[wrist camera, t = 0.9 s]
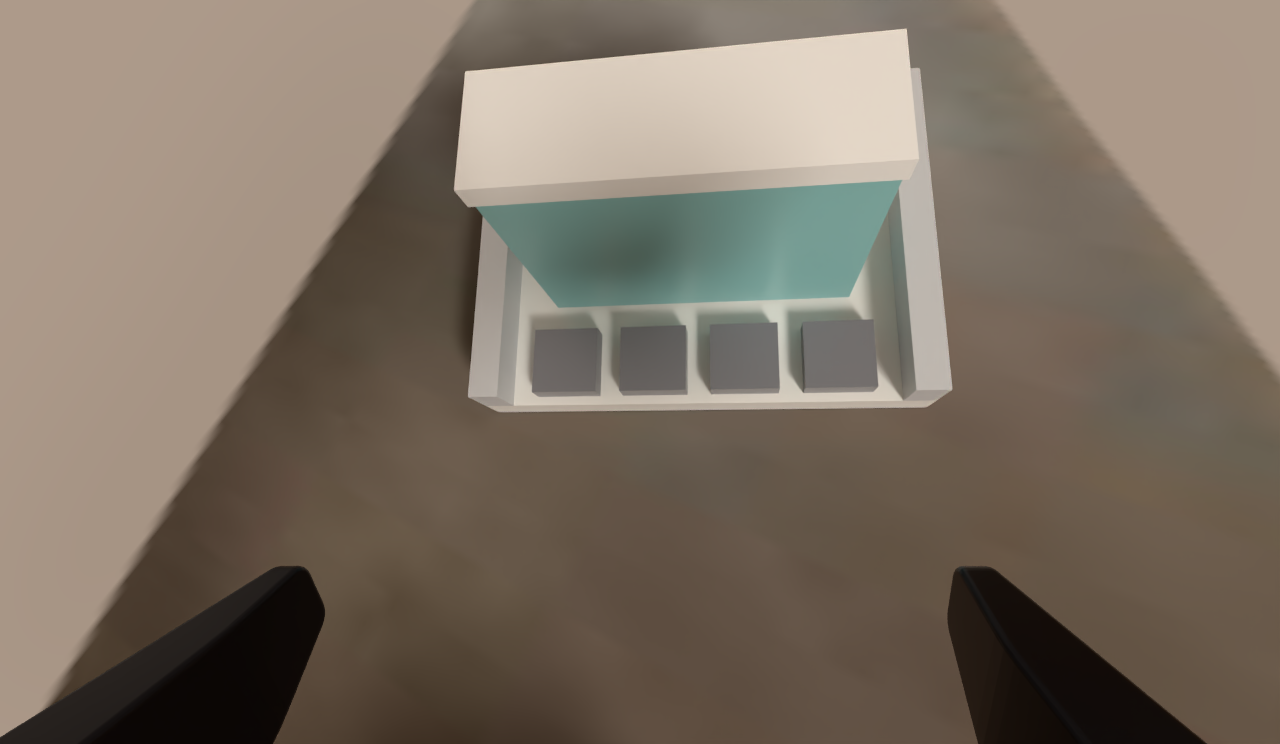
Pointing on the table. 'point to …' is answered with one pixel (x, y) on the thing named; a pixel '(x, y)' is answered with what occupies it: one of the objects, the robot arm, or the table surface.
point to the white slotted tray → (726, 334)
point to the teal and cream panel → (693, 168)
